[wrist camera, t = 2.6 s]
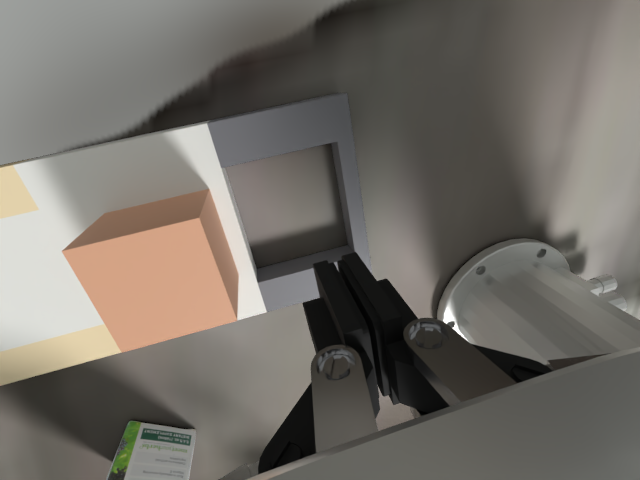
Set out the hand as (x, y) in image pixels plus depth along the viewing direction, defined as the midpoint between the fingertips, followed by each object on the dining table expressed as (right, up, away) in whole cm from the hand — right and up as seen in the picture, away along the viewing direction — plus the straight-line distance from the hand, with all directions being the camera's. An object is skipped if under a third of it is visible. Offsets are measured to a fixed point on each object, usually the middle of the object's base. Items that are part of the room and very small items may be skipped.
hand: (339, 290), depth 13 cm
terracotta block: (-10, +2, +8) cm, 13 cm away
